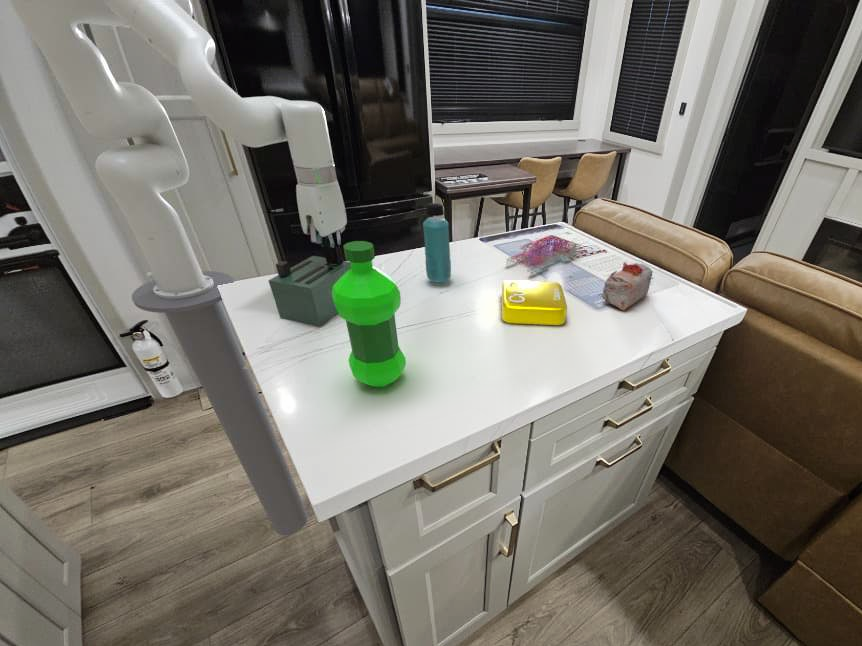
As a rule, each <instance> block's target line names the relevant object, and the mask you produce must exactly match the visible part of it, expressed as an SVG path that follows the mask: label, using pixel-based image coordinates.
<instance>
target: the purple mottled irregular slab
mask: <svg viewBox="0 0 862 646" xmlns="http://www.w3.org/2000/svg"><path fill="white" fill-rule="evenodd" d="M582 246H583V245H582V244H580V243H576V242H573V241H570V240H569V239H568V240H567V239H564V238H561V237H559V236H557V235H552V234H549V235H547V236H544V237H542V238H539V239H536V240H534V241H531V242H528V243H526V244H523V245H520V246H519V249H520V250H523V252H520V253H518V254H515V255H513V256H511V257H508V258H506V265H505V268H506V269H508V268H510V267H512V266H515V265H519V266H521V267H525V268H526V269H527V270H526V271H527V272H528V273H530V278H533V277H535V276H537V275H538V272H539V273H544V272H545V271H547V270H548V267H549V266H551V265H553V264H556V263H558V262H563V263H567V262H569V261H572V260H574V257H575V256H576V255H579V254H581V252H580V251H578V250H581V249H582Z"/></svg>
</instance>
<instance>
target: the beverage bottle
mask: <svg viewBox="0 0 862 646" xmlns="http://www.w3.org/2000/svg"><path fill="white" fill-rule="evenodd" d="M425 211H426V215H427V216H430V217H426V219H425V220H424V221H423V223H422V226H423V238H424V239H423V240H424V257H425V272H426V277H427V280H429V281H431V282H434V283H443V282H447V281H449V280H450V279H451V276H452V265H451V262H452V261H451V249H450V248H451V246H450V232H449V230H450V229H449V225H450V224H449V222H448V221H447V220H446V219H445V218H444V217H441V216H443V215H444V214H445V213H444V212H445V211H444V206H443V204H441V203H437V202H430V203H427V204H426V209H425Z"/></svg>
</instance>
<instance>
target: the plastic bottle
mask: <svg viewBox="0 0 862 646" xmlns="http://www.w3.org/2000/svg"><path fill="white" fill-rule="evenodd" d="M374 248H375V246H374V244H373V243H372V242H369V241H365V240H354V241H350V242H346V243H345V244H343V252H344V257H345V260H346V262H350V265H351V268H350V269H349V270H348V271H347V272H346V273H345V274H344V275H343V276H342V277H341V278H340V279H339V280H338V281H337V282H336V283H335V284H334V285H333V288H332V298H333V302H334V304H335V307H336V309H337V311H338V313H337V314H338V315H339V317H340V318H341V319H343V320H345V323H346V329H347V333H348V338H349V342H350V347H351V352H350V354H349V358H348V366H349V369H350V370H351V373H352V376H353V377H354V379H356V381H358V382H360V383H362V384H365V385H368V386H371V387H373V388H385V387H387V386H389V385H391V384H392V383H393V382H395V381H397V380H398V379H399V378H400V377H401V375H402V373H403V372H404V370H405V368H406V365H407V360H406V356H405V355H404V353H403V351H402V349H401V348H400V345H399V341H398V332H397V323H396V315H395V313H397V311H398V310H399V309H400V307H401V301H402V298H401V297H402V296H401V291H400V289H399V288H398V286H397V284H396V282H395V281H394V279H393V278H392V277H391V276H390V275H388V274H387V273H385V272H384V271H382V270H380V269H379V268H377V267H376V266H374V265H373V260H374V259H376V256H375V255H376V254H375V249H374Z"/></svg>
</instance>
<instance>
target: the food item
mask: <svg viewBox="0 0 862 646" xmlns="http://www.w3.org/2000/svg"><path fill="white" fill-rule="evenodd" d="M653 273H654V271H653V270H652V269H651V268H650V267H648V266H647V265H645V264H642V263H637V262H635V263H633V264H627V262H626V261H624V262H623V264H622V269H621V270H619V271H618V270H615V271H613V272H612V273H611V274H610V275H609V276H608V277H607V279H606V280H605V281H604V286H603V289H602V294H601V296H602V299H603V301H605V302H606V303H608V304H610V305H611V306H613V307H615V308H617V309H619V310H621V311H626V310H627V309H628V308H630V307H631V306H633V305H634V304H635V303H637V302H638V301H640V300H641V299H642V298H644V297H646V296H647V295H648V292H649V290H650V285H651V281H652V278H653Z"/></svg>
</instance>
